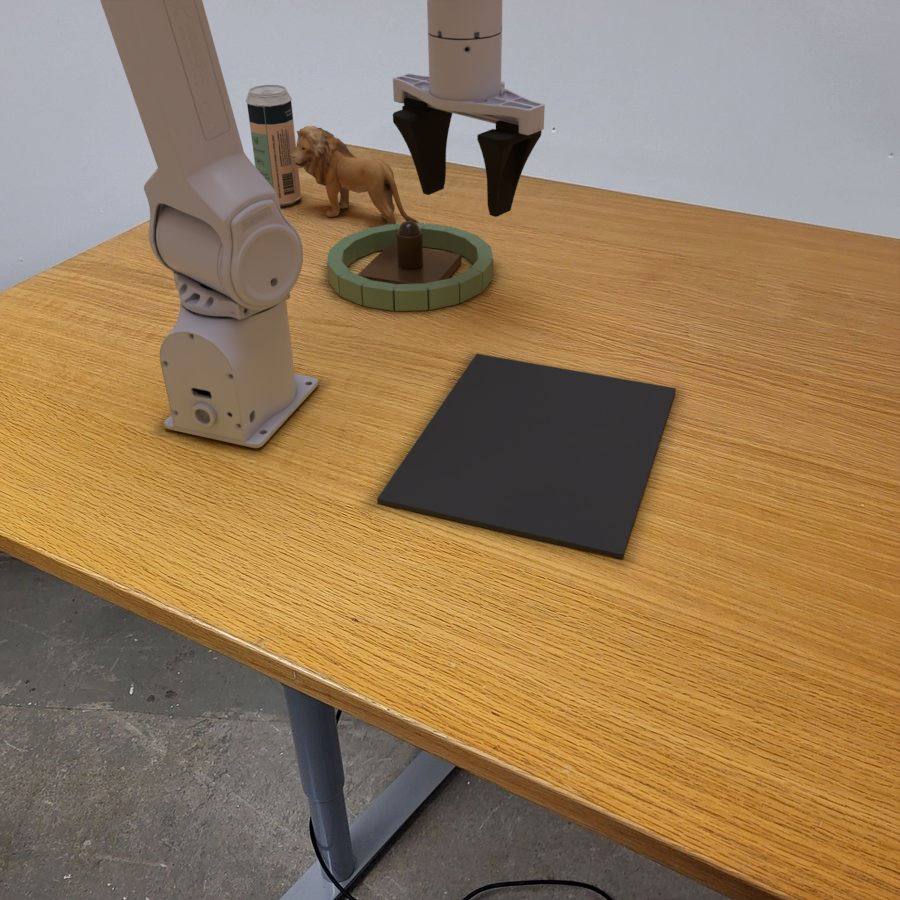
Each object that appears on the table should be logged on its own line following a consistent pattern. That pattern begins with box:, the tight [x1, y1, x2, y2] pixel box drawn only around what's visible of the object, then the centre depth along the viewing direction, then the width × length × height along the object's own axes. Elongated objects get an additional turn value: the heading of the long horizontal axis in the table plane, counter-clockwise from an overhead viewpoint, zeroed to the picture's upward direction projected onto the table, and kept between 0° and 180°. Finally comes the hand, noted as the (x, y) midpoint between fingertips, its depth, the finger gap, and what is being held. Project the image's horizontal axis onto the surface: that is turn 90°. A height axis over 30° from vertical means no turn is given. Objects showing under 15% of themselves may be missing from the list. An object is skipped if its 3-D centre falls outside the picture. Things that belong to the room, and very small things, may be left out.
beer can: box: [245, 84, 302, 208], centre depth 101 cm, size 5×5×12 cm
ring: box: [326, 222, 494, 312], centre depth 88 cm, size 15×15×2 cm
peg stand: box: [357, 220, 463, 284], centre depth 87 cm, size 8×8×5 cm
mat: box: [376, 353, 677, 560], centre depth 66 cm, size 20×16×1 cm
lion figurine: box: [290, 125, 420, 225], centre depth 98 cm, size 15×5×9 cm, turn 62°
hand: (466, 201), depth 80 cm, fingers open, 7 cm apart
